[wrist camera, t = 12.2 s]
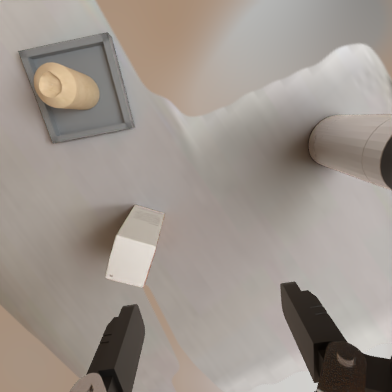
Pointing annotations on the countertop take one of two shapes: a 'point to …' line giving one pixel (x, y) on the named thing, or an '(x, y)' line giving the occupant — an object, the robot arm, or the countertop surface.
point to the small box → (135, 247)
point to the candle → (65, 87)
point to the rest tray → (93, 67)
